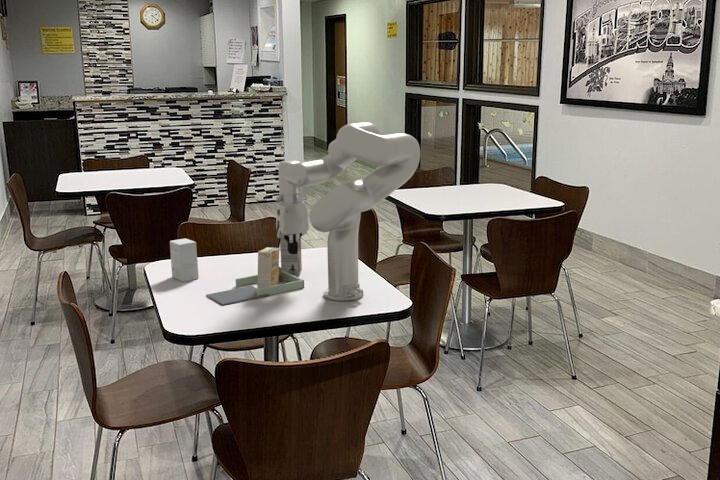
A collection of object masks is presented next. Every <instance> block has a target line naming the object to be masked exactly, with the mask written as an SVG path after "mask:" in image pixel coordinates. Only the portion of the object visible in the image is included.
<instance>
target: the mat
mask: <svg viewBox="0 0 720 480" xmlns="http://www.w3.org/2000/svg"><path fill="white" fill-rule="evenodd" d="M256 289H257V287H255V286H253V285H248V286H247V285H246V286H244V287H243V286H242V287H237V288H233V289H228V290H223V291H217V292H212V293H209V294H205V296H206V297H207V298H209V299H210V300H212V301H214V302H215V303H217V304H219V305H220V306H227V305H232V304H236V303H237V304H238V303H243V302H248V301H251V300H252V301H253V300H257V299H260V298H265V297H269V296H270V295H269V294H264V295H259V296H257V293H256Z"/></svg>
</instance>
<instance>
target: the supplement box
mask: <svg viewBox="0 0 720 480" xmlns="http://www.w3.org/2000/svg"><path fill="white" fill-rule="evenodd" d="M279 267H280V247H265V248H263V249H261V250H258V251H257V275H258V281H257V284H256V285H257V287H256V288H257V289H260V288H265V287H270V286H275V285H279V283H278V277H279Z"/></svg>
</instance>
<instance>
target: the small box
mask: <svg viewBox="0 0 720 480" xmlns="http://www.w3.org/2000/svg"><path fill="white" fill-rule="evenodd" d="M169 250H170V252H169V253H170V264H171V265H170V266H171V278H174V279H176V280H178V281H180V282H182V283H183V282H187V281H192V280H196V279H199V265H198V251H197V250H198V249H197V242H196V241H194V240H191V239H189V238H186V237H185V238H180V239H179V238H178V239H174V240H170V241H169Z"/></svg>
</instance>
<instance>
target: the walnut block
mask: <svg viewBox="0 0 720 480" xmlns="http://www.w3.org/2000/svg"><path fill="white" fill-rule="evenodd" d="M279 283H280V284H281V283H283V279H282V271H281V266H279V277H278V284H279Z"/></svg>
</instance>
